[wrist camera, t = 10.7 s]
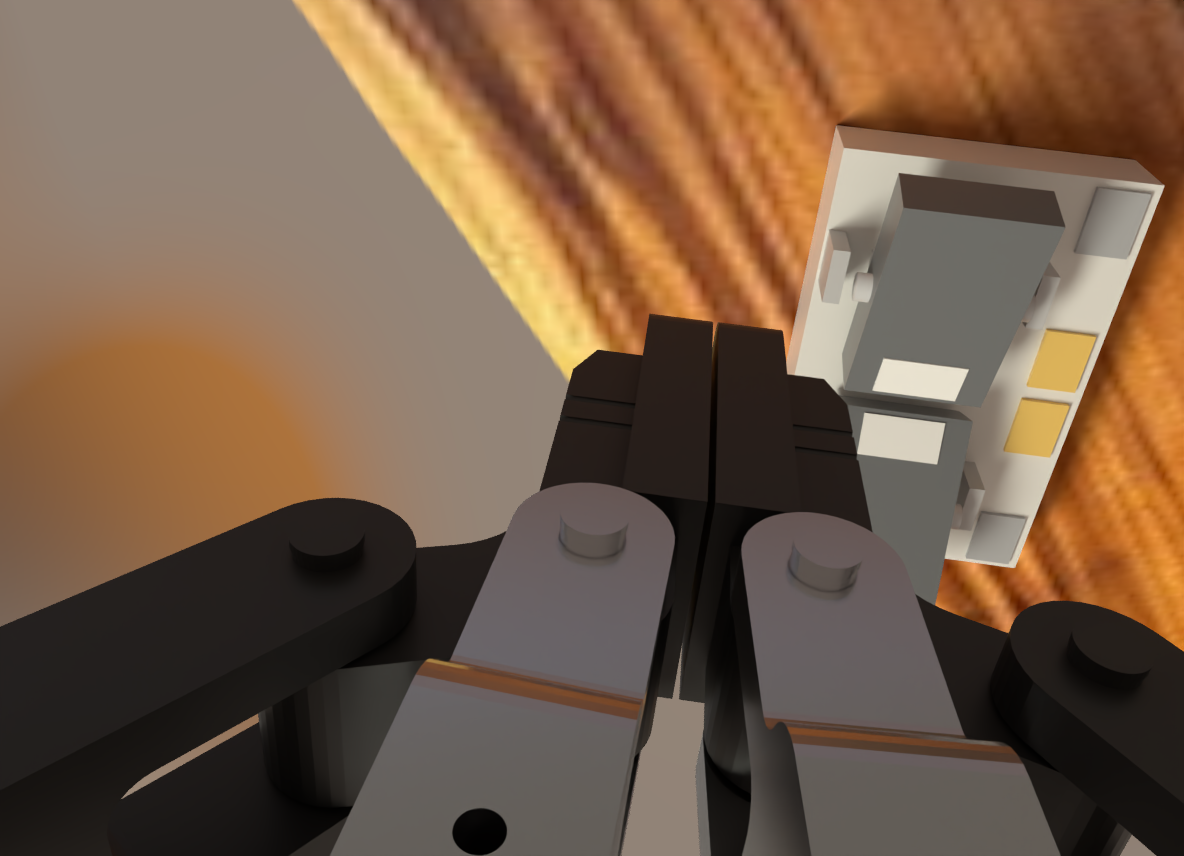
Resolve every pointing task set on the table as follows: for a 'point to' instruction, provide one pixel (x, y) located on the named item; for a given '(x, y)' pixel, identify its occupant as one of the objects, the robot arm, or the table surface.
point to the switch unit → (1040, 347)
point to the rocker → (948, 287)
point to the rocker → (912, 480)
